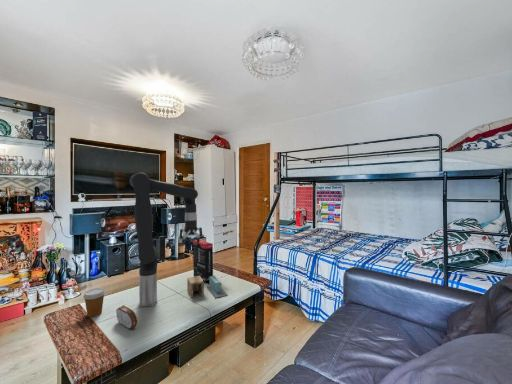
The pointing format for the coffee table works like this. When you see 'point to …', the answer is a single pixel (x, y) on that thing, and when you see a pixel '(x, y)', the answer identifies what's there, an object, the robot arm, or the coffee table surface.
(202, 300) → the coffee table surface
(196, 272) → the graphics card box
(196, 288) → the sleeve
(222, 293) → the mat
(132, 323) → the brown grey rounded block
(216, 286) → the grey-blue block
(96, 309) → the disposable coffee cup
